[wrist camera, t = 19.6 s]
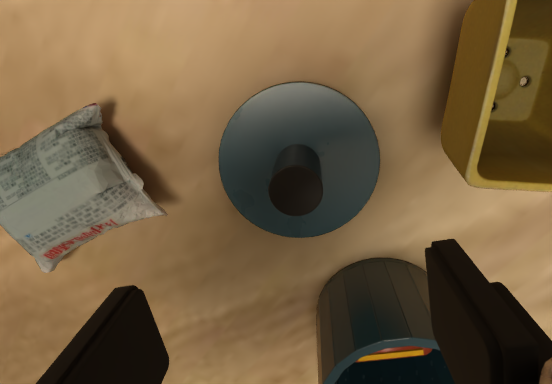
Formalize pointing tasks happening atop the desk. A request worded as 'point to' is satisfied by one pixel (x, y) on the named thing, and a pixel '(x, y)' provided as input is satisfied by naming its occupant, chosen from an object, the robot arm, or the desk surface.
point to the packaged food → (68, 188)
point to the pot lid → (299, 159)
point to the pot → (377, 325)
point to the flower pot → (502, 97)
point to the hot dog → (396, 353)
